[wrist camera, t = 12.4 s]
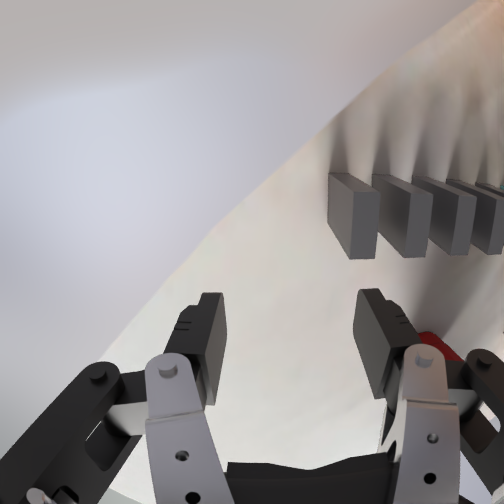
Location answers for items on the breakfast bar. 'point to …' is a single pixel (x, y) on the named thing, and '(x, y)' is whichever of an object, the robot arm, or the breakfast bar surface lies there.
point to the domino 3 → (449, 215)
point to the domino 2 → (403, 215)
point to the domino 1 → (353, 214)
